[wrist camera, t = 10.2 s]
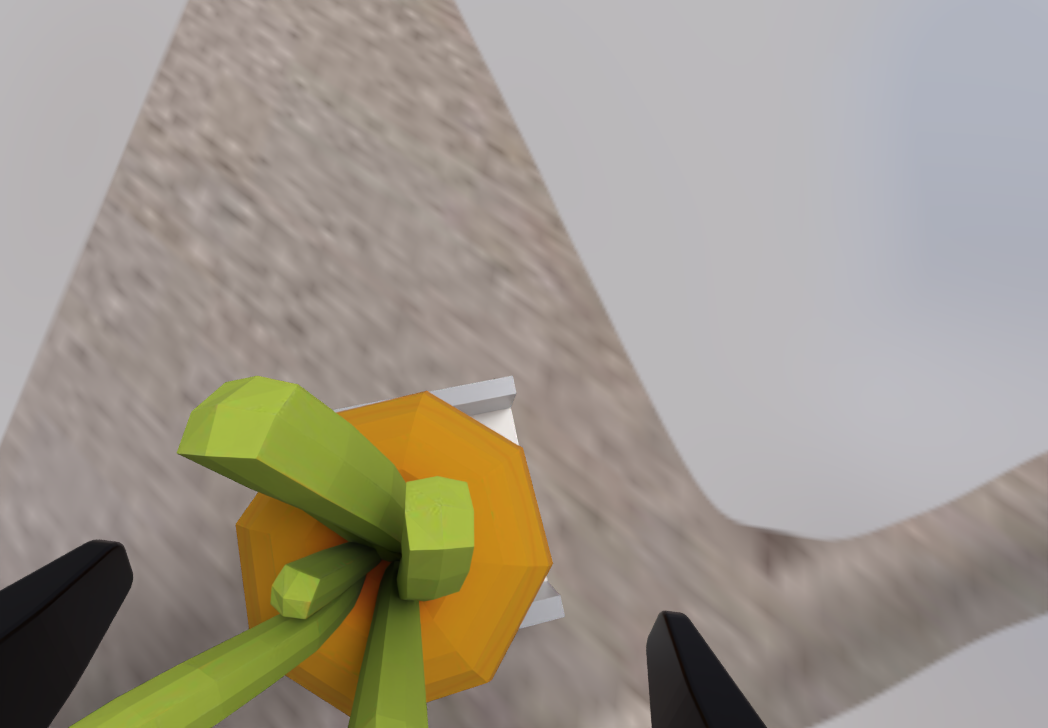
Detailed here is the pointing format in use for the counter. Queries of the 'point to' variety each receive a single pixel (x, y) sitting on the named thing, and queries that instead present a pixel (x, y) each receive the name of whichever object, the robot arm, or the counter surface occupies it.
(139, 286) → the counter surface
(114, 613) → the robot arm
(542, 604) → the white railed tray
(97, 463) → the counter surface
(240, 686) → the carrot
